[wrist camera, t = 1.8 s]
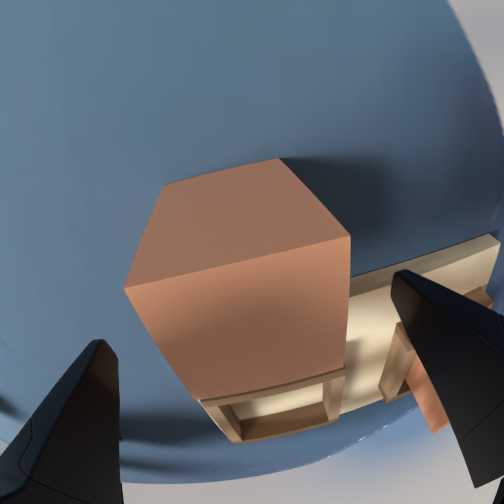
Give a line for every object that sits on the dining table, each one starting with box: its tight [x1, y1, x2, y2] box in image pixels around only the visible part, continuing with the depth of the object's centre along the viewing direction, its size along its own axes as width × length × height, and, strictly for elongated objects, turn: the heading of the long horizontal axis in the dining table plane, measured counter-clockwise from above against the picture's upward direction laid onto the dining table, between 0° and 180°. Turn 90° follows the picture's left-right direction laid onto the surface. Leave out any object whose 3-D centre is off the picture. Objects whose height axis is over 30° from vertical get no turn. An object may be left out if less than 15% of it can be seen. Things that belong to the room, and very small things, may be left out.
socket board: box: [198, 233, 501, 445], centre depth 16 cm, size 16×24×8 cm, turn 101°
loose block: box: [123, 158, 351, 400], centre depth 10 cm, size 5×5×7 cm
